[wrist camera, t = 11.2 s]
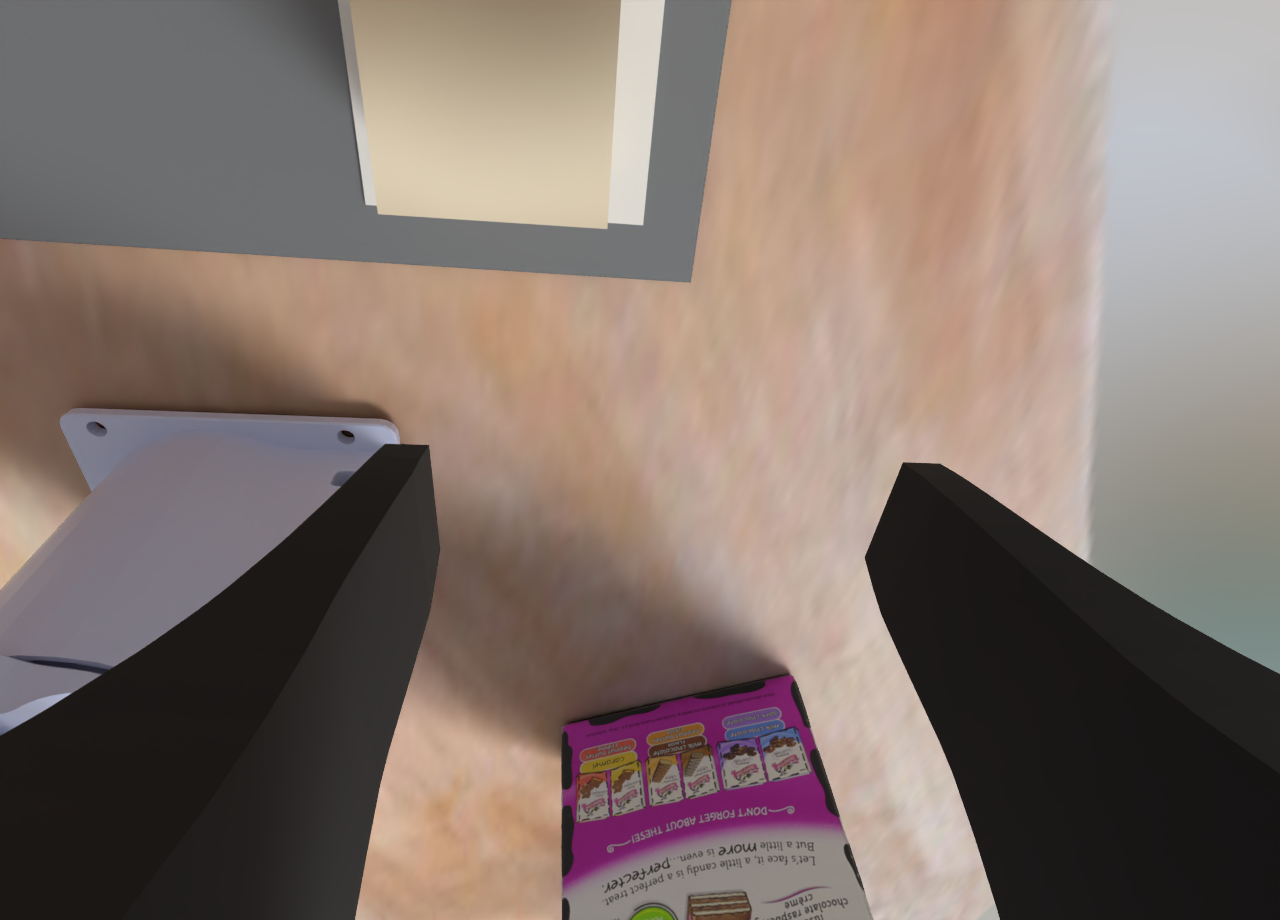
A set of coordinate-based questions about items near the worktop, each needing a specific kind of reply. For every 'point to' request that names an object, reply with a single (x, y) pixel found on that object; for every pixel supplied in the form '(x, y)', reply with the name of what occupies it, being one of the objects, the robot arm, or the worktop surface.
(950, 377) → the worktop surface
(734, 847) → the candy bar box
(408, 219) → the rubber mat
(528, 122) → the green and cream block
